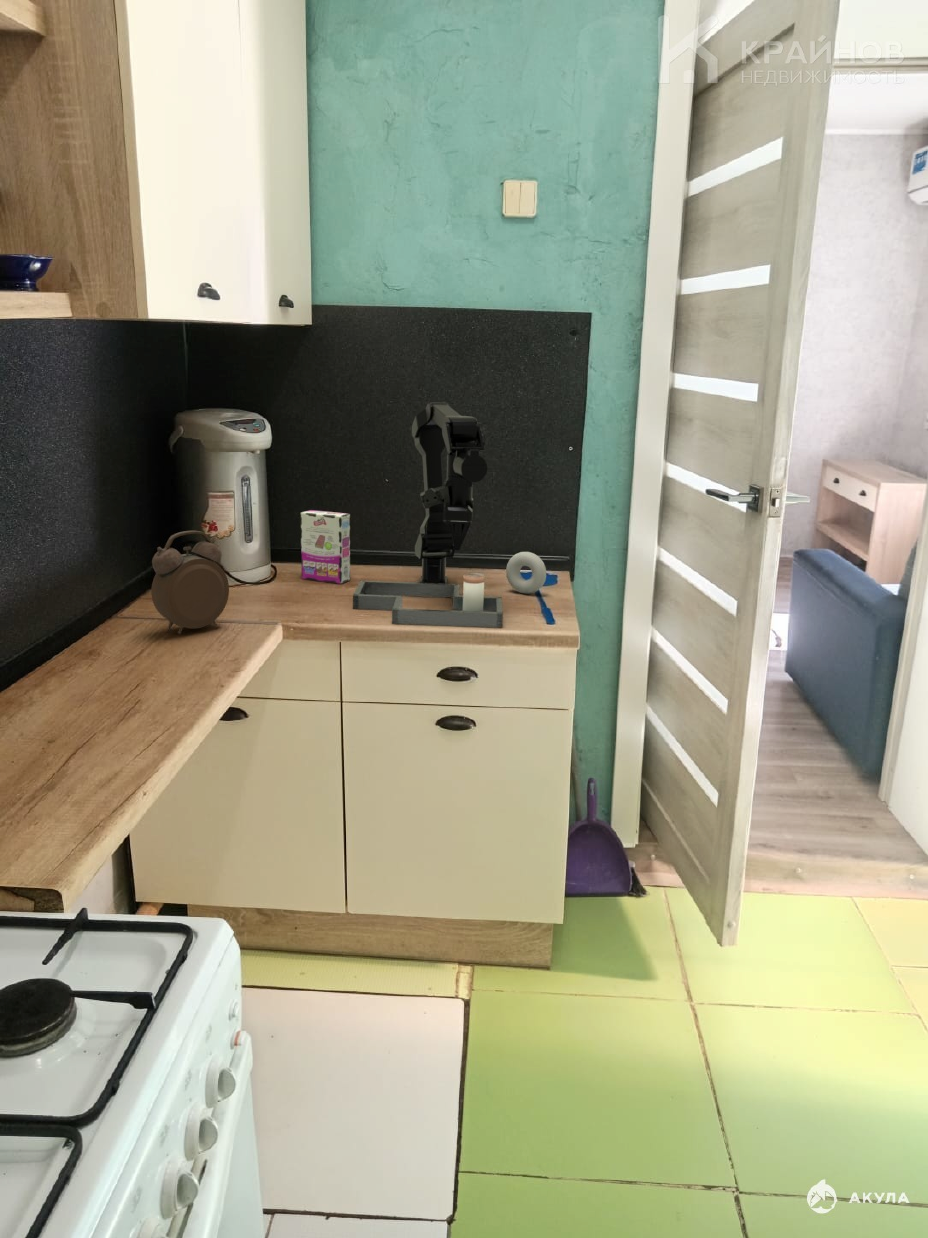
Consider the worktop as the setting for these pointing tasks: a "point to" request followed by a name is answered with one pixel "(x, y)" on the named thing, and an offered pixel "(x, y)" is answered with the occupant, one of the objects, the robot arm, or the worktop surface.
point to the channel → (391, 596)
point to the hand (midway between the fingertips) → (457, 545)
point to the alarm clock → (189, 584)
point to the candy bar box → (325, 546)
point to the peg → (473, 592)
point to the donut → (536, 568)
